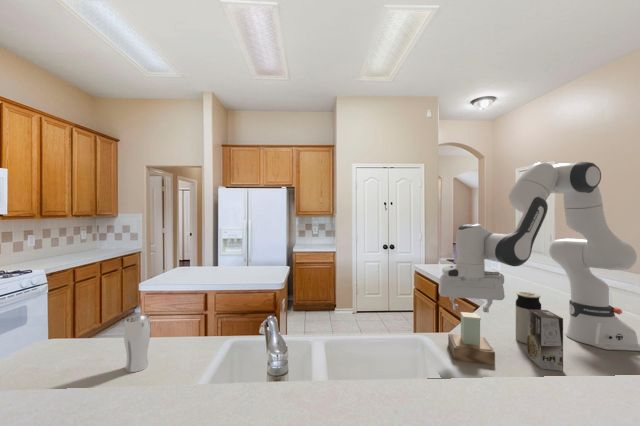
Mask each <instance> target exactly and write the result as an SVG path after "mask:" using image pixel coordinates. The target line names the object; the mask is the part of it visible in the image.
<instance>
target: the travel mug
mask: <svg viewBox="0 0 640 426" xmlns="http://www.w3.org/2000/svg"><path fill="white" fill-rule="evenodd" d="M516 295H517V298H516V299H515V340H516V341H518V342H520V343H522V344H524V345H528V343H527V309H531V310H542V304H541V302H540V298H541V295H540V294H537V293H535V292H529V291H517V292H516Z"/></svg>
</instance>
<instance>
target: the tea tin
mask: <svg viewBox="0 0 640 426" xmlns="http://www.w3.org/2000/svg"><path fill="white" fill-rule="evenodd" d="M481 320H482V319H481V316H479V314H478V313H476V312H467V311H466V312H464V311H460V335H461V339H462V341H463V343H464V344H472V345H480V337H481Z"/></svg>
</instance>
